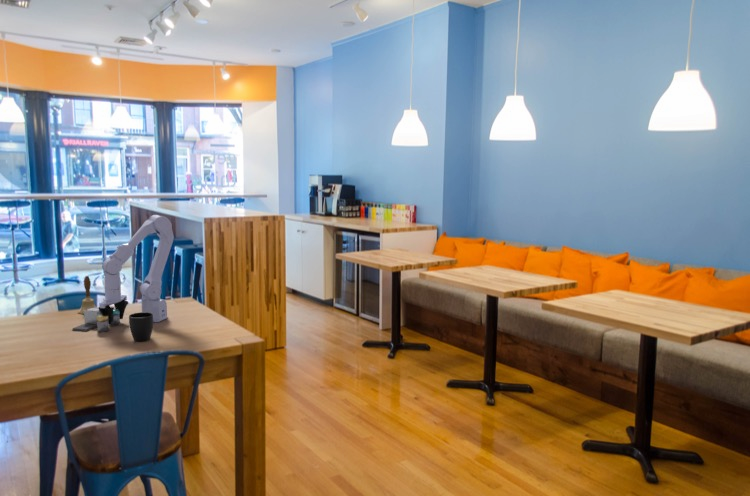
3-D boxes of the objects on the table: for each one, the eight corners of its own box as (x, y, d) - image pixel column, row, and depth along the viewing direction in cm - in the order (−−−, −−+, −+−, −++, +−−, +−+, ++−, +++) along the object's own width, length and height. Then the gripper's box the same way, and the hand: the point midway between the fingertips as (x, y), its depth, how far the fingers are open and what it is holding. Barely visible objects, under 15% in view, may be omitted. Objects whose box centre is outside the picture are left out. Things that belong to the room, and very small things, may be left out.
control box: (106, 323, 226) (105, 308, 225) (98, 326, 221) (97, 311, 220) (92, 322, 227) (91, 307, 226) (84, 325, 222) (83, 310, 222)
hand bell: (102, 309, 247) (101, 274, 245) (91, 314, 239) (89, 278, 236) (85, 309, 248) (83, 274, 245) (73, 313, 240) (71, 277, 237)
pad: (96, 327, 221) (96, 325, 220) (86, 331, 215) (86, 329, 215) (83, 326, 222) (83, 324, 221) (72, 330, 216) (72, 328, 216)
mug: (159, 333, 214) (158, 309, 213) (150, 343, 202) (149, 317, 201) (137, 333, 213) (136, 309, 212) (126, 343, 202) (125, 317, 200)
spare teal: (122, 323, 226) (121, 309, 225) (115, 326, 222) (115, 312, 221) (113, 323, 227) (112, 308, 226) (106, 325, 223) (105, 311, 222)
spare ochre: (111, 330, 217) (110, 315, 216) (104, 333, 213) (103, 318, 212) (101, 329, 218) (101, 314, 217) (94, 332, 214) (94, 317, 213)
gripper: (115, 284, 230) (116, 316, 232) (91, 291, 216) (93, 325, 218) (130, 285, 229) (132, 317, 231) (107, 292, 215) (109, 326, 217)
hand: (114, 321), depth 224 cm, fingers open, 7 cm apart
